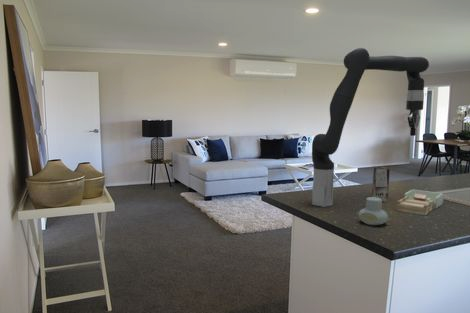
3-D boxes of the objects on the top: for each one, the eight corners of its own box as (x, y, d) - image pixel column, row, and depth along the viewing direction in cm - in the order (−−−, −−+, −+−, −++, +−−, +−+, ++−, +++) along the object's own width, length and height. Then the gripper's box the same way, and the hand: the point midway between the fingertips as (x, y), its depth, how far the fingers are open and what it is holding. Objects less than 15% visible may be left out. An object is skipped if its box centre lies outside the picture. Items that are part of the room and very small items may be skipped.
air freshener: (390, 223, 149) (391, 199, 148) (382, 228, 143) (383, 203, 142) (363, 218, 156) (364, 194, 155) (355, 222, 150) (356, 198, 149)
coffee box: (388, 201, 184) (390, 169, 182) (374, 201, 185) (376, 168, 183) (384, 197, 193) (386, 166, 191) (371, 197, 194) (373, 166, 192)
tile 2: (431, 198, 182) (430, 202, 182) (419, 196, 185) (419, 200, 185) (428, 200, 178) (428, 204, 178) (417, 198, 181) (416, 202, 181)
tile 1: (425, 198, 173) (426, 195, 174) (413, 196, 176) (414, 193, 177) (426, 205, 176) (427, 201, 177) (415, 203, 180) (416, 200, 180)
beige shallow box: (425, 215, 161) (426, 206, 161) (396, 210, 169) (396, 201, 168) (433, 208, 172) (434, 200, 171) (405, 204, 179) (406, 196, 179)
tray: (436, 208, 172) (437, 198, 171) (403, 203, 180) (404, 193, 180) (442, 203, 181) (443, 193, 181) (411, 199, 190) (412, 189, 190)
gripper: (410, 100, 191) (408, 134, 193) (402, 99, 181) (400, 136, 183) (427, 100, 186) (424, 135, 188) (419, 99, 176) (417, 136, 178)
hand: (412, 135), depth 186 cm, fingers closed
